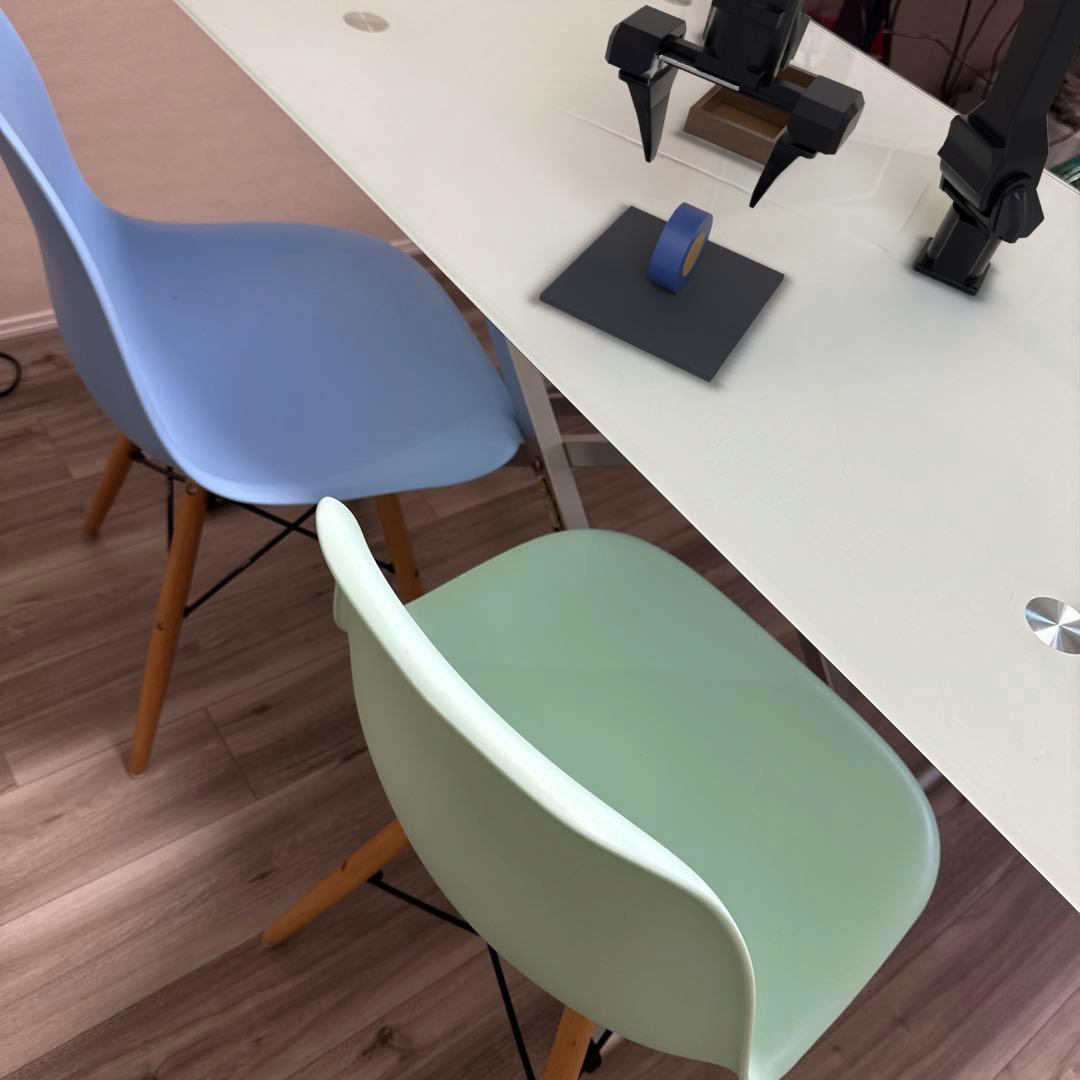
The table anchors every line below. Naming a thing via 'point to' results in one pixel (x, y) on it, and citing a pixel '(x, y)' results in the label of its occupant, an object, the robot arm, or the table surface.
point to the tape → (680, 247)
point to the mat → (664, 295)
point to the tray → (743, 118)
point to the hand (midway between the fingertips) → (700, 182)
